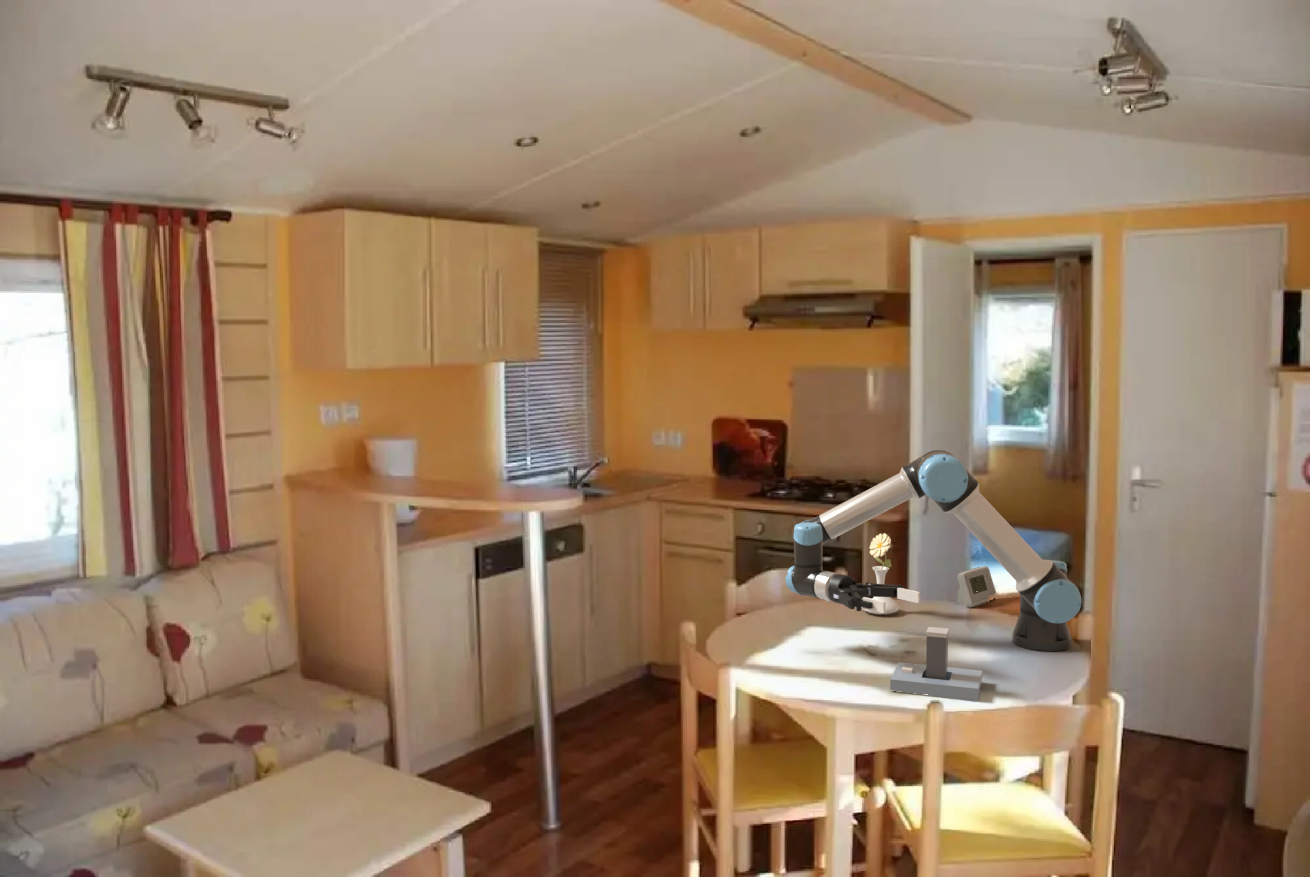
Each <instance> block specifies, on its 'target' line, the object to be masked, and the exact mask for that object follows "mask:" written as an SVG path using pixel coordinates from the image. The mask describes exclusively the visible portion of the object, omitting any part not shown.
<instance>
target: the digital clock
mask: <svg viewBox="0 0 1310 877" xmlns="http://www.w3.org/2000/svg"><path fill="white" fill-rule="evenodd" d="M956 576H957V581H958V584H959V588H958V590H957V603H958V604H961V605H965V606H966V607H967V608H973V607H975V608H976V607H978V606H981V605H985V604H986V603H985V602H987V601H988V599H989V598H988V597H990V596H988V595H993V594H994V593H996V594H997V591H996V587H995V585H994V584H995V583H994V581H993V578H992V574H991V571H990V568H989V567H988V566H986V565H983V566H980V567H979V566H978V567H974V568H970V569H966V570H964V571H961V572H959V573H958V574H957V575H956ZM976 591H978V592H976Z"/></svg>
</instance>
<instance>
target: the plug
mask: <svg viewBox="0 0 1310 877" xmlns="http://www.w3.org/2000/svg"><path fill="white" fill-rule="evenodd" d="M949 633H950V628H947V627H946V628H945V627H938V626H935V627H934V626H928V628H927V629H926V632H925V637H926V650H925V651H926V652H925V654H926V656H925V660H926V661H925V665H926V678H930V679H940V680H947V667H948V659H949Z"/></svg>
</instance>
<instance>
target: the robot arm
mask: <svg viewBox="0 0 1310 877" xmlns="http://www.w3.org/2000/svg"><path fill="white" fill-rule="evenodd" d="M925 496H927V497H928V498H930V499H931V500H932V501H933V502H934V503H935V504H936V505H937V506H938V507H939V508H940V509H941V510H942V512H944V513H945V514H954V516H955V517H956V518H957V519H958V520H959V521H960V522H961V523H962V524H963V526H964V527H966V529H967V530H968V531H969V532H970V533H971V534H972V535H973V536H974V537H975V539H976V540H977V541H979V543H981V545H983V548H985V549H986V551H988V552H989V553H990V554H991V556H992V557H993V558H994V559H995V560H996V561H997V562H998V563H999V564H1000V566H1002V567H1003V569H1004V570H1005V571H1006V572H1007V573H1008V574H1009V575H1010V576H1011V577H1012V578H1013V579H1014V580H1015V590H1016V591H1017V592H1018V593H1019V595H1020V598H1019V599H1020V600H1019V615H1018V618H1017V620H1016V623H1015V626H1014V628H1013V631H1012V639H1011V640H1012V643H1013V644H1014V643H1015V644H1014V645H1016V646H1018V647H1021V648H1024V647H1025V648H1024V649H1028V650H1033V651H1042V652H1057V651H1058V652H1059V651H1066V650H1068V649H1070V648H1071V647H1072V635H1071V633H1070V629H1069V626H1068V622H1069V621H1071V620H1072V619H1073V618H1075V617H1076V615H1077V614H1078V613H1079V612H1080V609H1081V607H1082V597H1081V596H1082V595H1081V593H1080V590H1079V588H1078V586H1076V584H1075V583H1073V581H1071V580H1070V579H1069V578H1068V576H1067V575H1068V574H1067V573H1068V568H1067V567H1068V566H1067V563H1066V562H1065V561H1061V560H1053V559H1052V560H1051V559H1044V558H1043V559H1042V558H1041V556H1040V555H1039V554H1038V553H1037V552H1036V551H1035V550H1034V549H1033V548H1032V547H1031V546H1030V545H1029V544H1028V543H1027V541H1026V540H1024V538H1022V536H1021V535H1020V534H1019V533H1018V532H1017V530H1015V529H1014V528H1013V526H1012V525H1010V524H1009V522H1008V521H1007V520H1006V519H1005V518H1004V517H1003V516H1002V515H1001V513H999V512H998V510H996V508H995V507H994V506H993V505H992V504H991V503H990V502H989V501H988V500H987V499H986V498H985V497H984V496H983V494H982V493H981V492H980V483H979V481H978V480H977V479H976V478H975V477H974V476H973V474H971V473H970V471H968V469H966V467H965V465H964V464H963V463H962V462H961V461H960V460H959V459H958V458H956V457H955V456H954V455H953V454H952V453H951V452H948V451H946V450H942V449H935V450H934V449H933V450H931V451H928V452H926V453H924V454H922V455H921V456H919V457H918V458H916V459H914V460H913V461H911V462H909V463H908V464H906V465H904V466H902V467H901V469H900V472H899V473H897V474H895V475H893V476H891V477H889V478H888V479H885V480H884V481H882V482H880V483H877V484H876V485H874V486H873V487H871V488H869V489H867V490H865V491H863V492H861V493H859V494H857V495H855V496H853V497H851V498H849V499H847V500H846V501H844V502H842V503H840V504H838V505H837V506H835V507H833V508H831V509H828V510H827V511H824V512H823V513H821V514H819V515H818V516H816V517H813V518H812V519H807V520H804V521H802V522H799V523H796V524H794V527H793V556H794V562H793V563H794V565H792V566H791V567H789V569H787V572H786V573H787V574H786V576H785V585H786V587H787V588H788V590H789V591H790V592H793V593H794V594H798V595H800V596H805V597H809V598H810V597H811V598H813V599H814V598H815V599H819V600H825V601H826V603H830V602H832V603H836V604H840V605H843V606H845V607H846V608H848V609H850V610H854V609H855V608H856V612H861V611H862V610H863V609H867V610H872V611H876V612H880V613H886V604H885V602H884V601H880V600H875V599H872V598H873V597H891V598H896V599H897V600H902V601H907V602H911V603H915V604H920V603H921V592H920V591H916V590H913V589H907V588H904V585H902V584H901V583H898V584H887V583H884V584H877V583H875V582H868V581H867V582H865V584H863V583H860V582H859V583H857V582H856V580H855V578H854V577H852V576H851V575H847V574H843V573H836V572H832V571H828V570H823V564H824V563H823V545H824V544H826V543H828V542H830V541H832V540H834V539H835V538H837V537H839V536H842V535H843V534H846V533H847V532H849V531H851V530H853V529H854V528H857V527H859V526H861V525H862V524H865V523H867V522H868V521H869V520H872V519H875V517H877V516H878V517H879V516H880V515H882V514H884V513H886V512H887V511H890V510H891V509H894V508H895V507H898V506H899V505H901V504H903V503H905V502H907V501H909V500H911V499H913V498H915V499H921V498H923V497H925ZM862 607H863V609H862Z"/></svg>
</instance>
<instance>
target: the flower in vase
mask: <svg viewBox="0 0 1310 877" xmlns="http://www.w3.org/2000/svg"><path fill="white" fill-rule="evenodd" d="M891 541H892V539H891V537H890V536H889V535H888V533H887V534H886V533H885V532H884V533H879V534H878V535H876V536H875V537H873V538H872V540H871V541H870V545H869V549H870V550H869V554H870V555H871V556H873V558H874V560H876V561H877V562H879V563H880V564H882V565H876V566H872V570H873V571H874V574H875V577H876V584H885V581H886V580H885V579H886V575H887V574H888V571H889V570H890V568H892V567H893V566H892V561H891V559H890V558H889V559H888V558H887V553H888V551H889V549H890V548H891V545H892V544H891ZM883 556H884V557H885V558H884V559H885V560H884V561H883V560H882V559H881V558H879V557H883ZM872 599H875V600H880V601H884V602H885V604H886V613H880V612H876V611H872V610H867V609H863V607H861V610H862V611H865V612H867V613H869V614H875V615H891V614H894V613H896V612H898V611H899V610H900V606H899V604H898V603H897V601H895V600H894V598H893V597H873V598H872Z"/></svg>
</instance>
